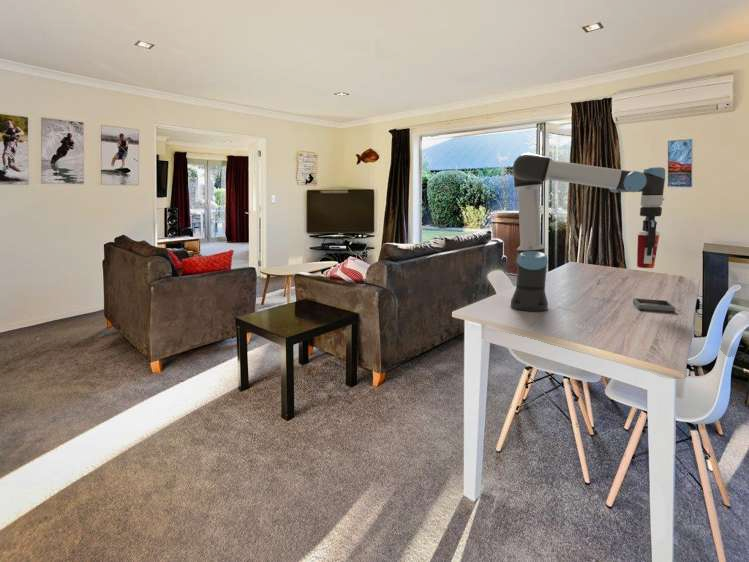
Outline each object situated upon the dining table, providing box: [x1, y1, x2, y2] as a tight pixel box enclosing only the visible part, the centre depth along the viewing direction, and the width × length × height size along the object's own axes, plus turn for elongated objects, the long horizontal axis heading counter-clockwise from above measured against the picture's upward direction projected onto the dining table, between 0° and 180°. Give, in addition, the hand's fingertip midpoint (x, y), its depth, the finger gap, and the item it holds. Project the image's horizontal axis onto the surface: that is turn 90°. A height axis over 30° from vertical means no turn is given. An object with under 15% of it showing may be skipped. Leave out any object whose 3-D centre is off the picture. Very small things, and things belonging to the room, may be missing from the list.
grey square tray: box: [632, 297, 676, 314], centre depth 190 cm, size 13×13×2 cm
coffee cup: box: [636, 230, 661, 269], centre depth 184 cm, size 8×8×15 cm
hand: (645, 262), depth 185 cm, fingers closed on coffee cup, 7 cm apart
